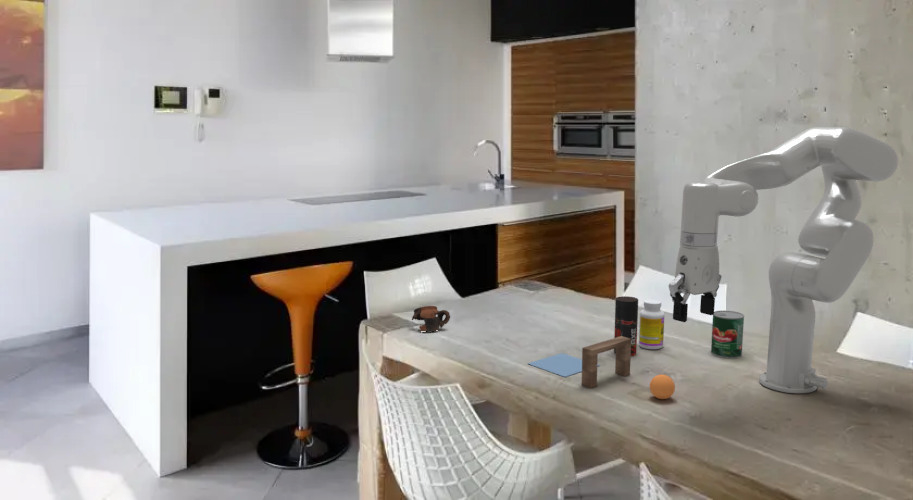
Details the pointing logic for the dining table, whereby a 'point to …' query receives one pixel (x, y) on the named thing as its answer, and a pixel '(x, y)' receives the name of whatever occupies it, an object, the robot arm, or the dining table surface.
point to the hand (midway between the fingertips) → (693, 317)
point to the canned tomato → (727, 334)
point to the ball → (662, 386)
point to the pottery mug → (431, 317)
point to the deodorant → (626, 320)
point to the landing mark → (560, 364)
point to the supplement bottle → (651, 325)
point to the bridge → (593, 350)
